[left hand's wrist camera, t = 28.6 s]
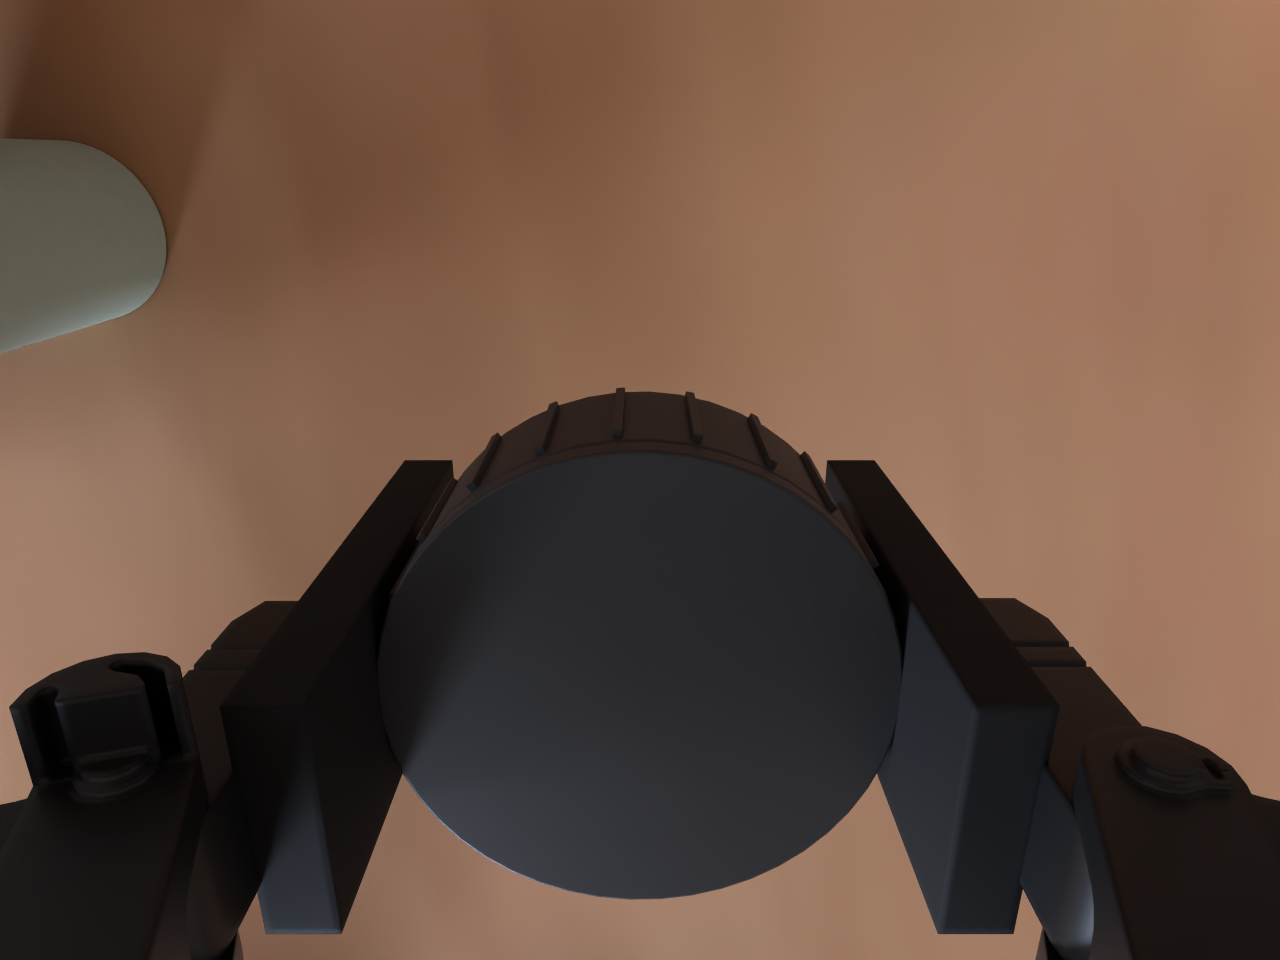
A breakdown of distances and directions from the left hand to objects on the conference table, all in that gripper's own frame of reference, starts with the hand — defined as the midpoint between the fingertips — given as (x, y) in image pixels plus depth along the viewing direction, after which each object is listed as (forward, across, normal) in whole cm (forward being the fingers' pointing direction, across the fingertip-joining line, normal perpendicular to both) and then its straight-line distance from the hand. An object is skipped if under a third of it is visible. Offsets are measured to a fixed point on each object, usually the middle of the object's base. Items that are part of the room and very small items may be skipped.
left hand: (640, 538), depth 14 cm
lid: (-4, 0, 0) cm, 4 cm away
